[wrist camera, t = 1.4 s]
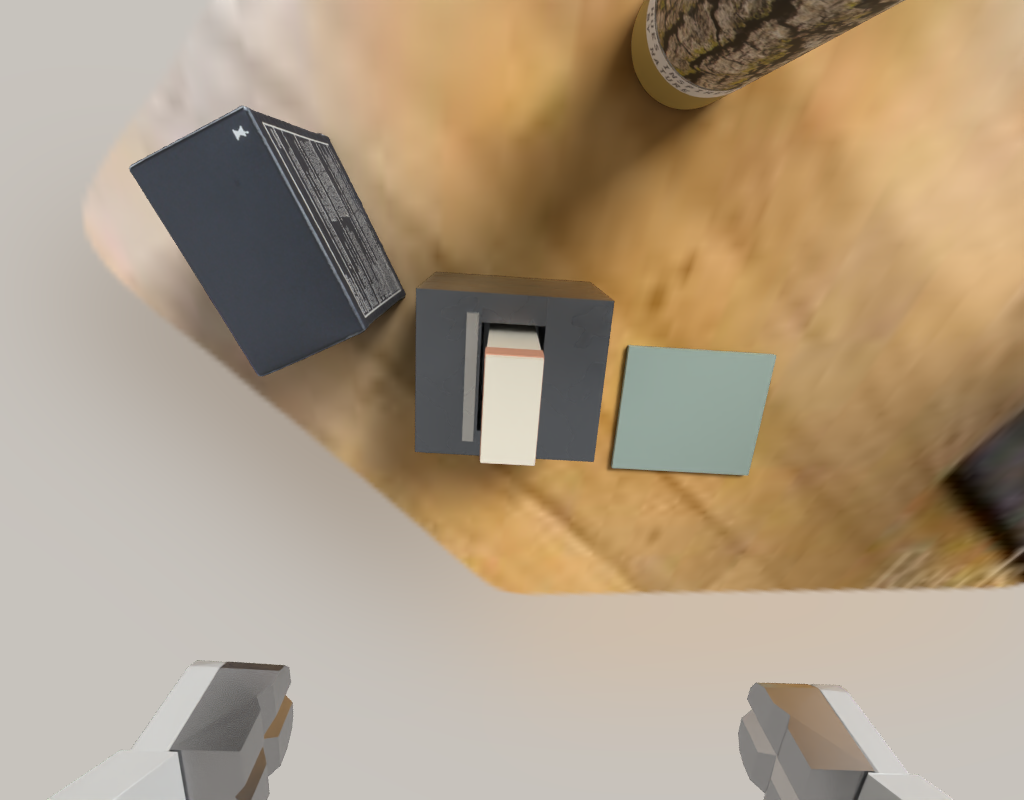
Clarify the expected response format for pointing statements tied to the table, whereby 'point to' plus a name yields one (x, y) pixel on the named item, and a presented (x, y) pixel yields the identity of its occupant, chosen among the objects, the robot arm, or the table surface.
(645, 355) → the mat
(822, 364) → the table surface
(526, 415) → the white block
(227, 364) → the table surface
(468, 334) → the dispenser
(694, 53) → the paper tube
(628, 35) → the table surface
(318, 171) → the small box
